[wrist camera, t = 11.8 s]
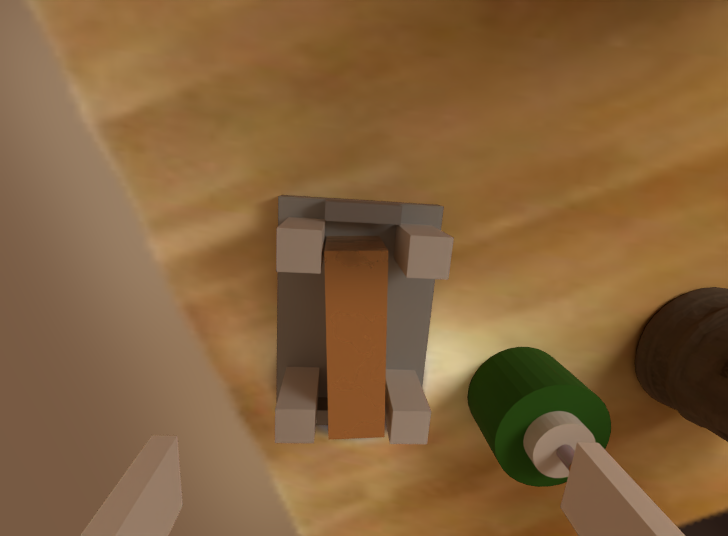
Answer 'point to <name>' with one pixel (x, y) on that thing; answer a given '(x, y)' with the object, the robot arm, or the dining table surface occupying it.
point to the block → (356, 335)
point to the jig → (308, 309)
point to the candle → (535, 414)
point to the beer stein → (689, 358)
